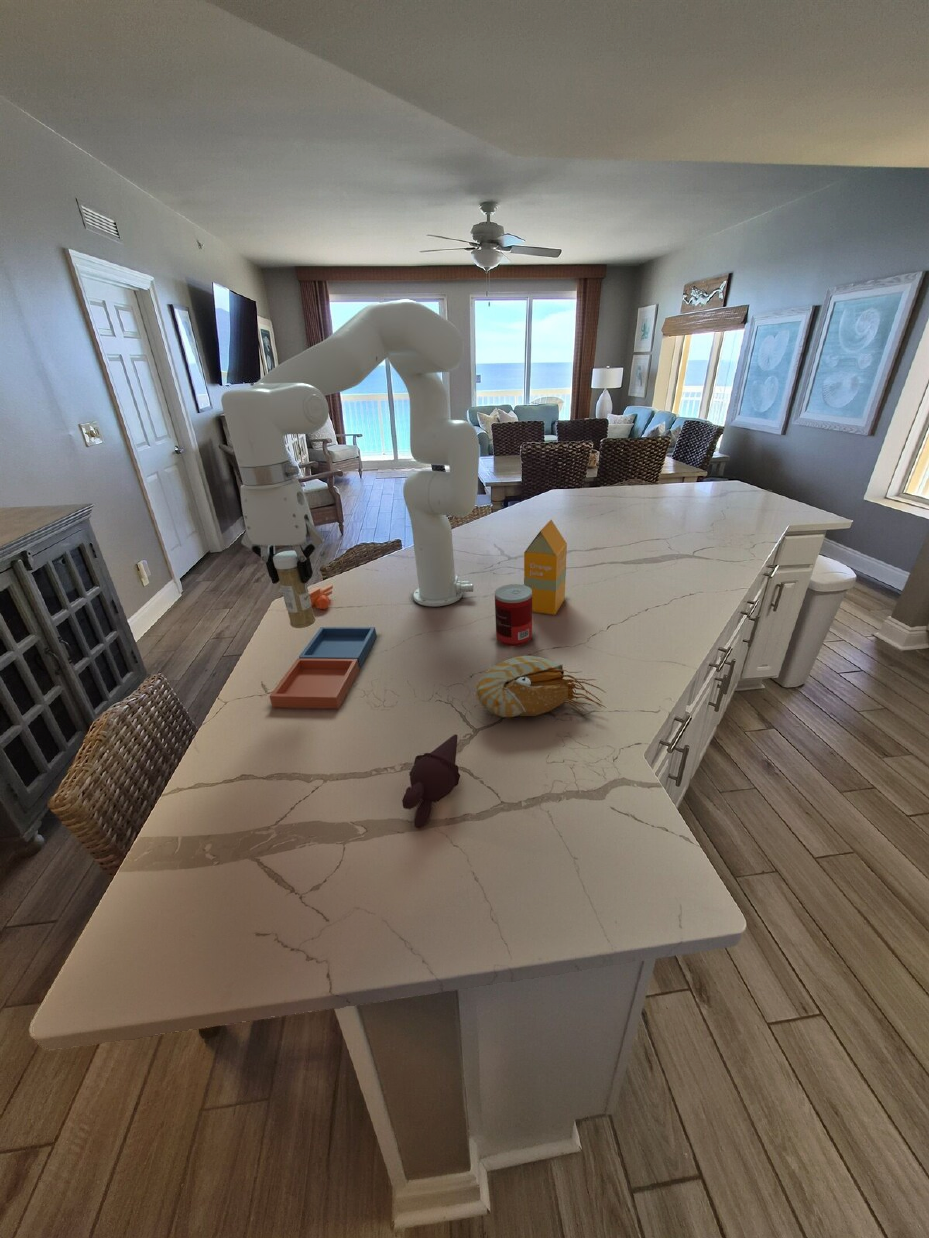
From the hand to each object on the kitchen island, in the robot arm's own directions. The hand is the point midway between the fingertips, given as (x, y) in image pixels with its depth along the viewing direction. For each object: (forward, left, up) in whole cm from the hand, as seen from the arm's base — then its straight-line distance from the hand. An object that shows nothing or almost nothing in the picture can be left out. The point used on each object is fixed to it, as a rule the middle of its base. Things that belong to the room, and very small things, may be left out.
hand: (292, 579), depth 87 cm
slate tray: (-1, -11, -22) cm, 24 cm away
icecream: (-28, +26, -22) cm, 44 cm away
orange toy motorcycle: (+12, -32, -22) cm, 41 cm away
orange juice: (-45, -33, -22) cm, 60 cm away
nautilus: (-43, +7, -22) cm, 49 cm away
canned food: (-38, -17, -22) cm, 47 cm away
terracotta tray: (-1, +2, -22) cm, 22 cm away
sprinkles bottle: (0, 0, -9) cm, 9 cm away
